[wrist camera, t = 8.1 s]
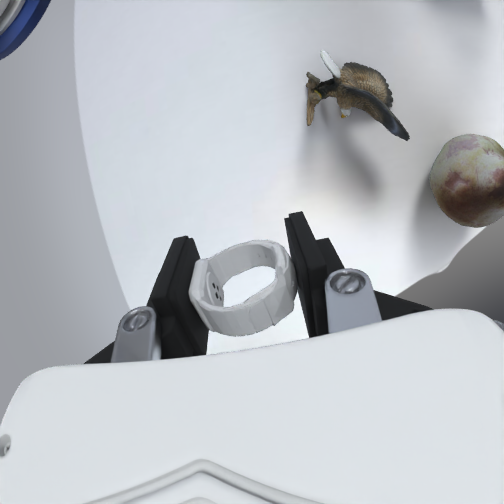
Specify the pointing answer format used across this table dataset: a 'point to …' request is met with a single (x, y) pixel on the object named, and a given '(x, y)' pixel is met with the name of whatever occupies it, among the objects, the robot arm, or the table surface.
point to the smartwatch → (254, 308)
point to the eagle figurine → (355, 93)
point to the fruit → (470, 180)
